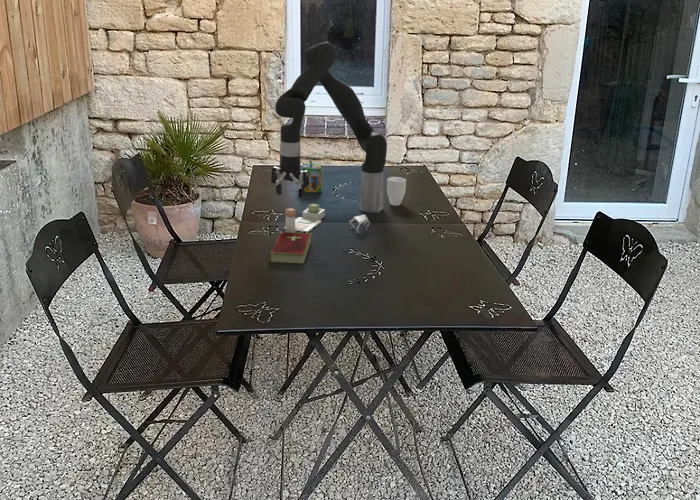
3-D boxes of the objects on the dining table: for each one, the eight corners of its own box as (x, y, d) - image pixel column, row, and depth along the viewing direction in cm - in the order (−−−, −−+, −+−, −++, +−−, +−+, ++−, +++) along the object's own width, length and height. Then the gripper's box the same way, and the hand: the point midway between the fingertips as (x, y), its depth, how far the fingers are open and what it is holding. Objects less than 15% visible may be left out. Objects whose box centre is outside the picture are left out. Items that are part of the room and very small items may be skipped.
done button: (320, 211, 275) (320, 204, 274) (316, 214, 271) (316, 207, 270) (311, 210, 276) (311, 203, 275) (306, 213, 272) (306, 206, 271)
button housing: (324, 216, 277) (324, 209, 275) (318, 221, 270) (318, 214, 269) (309, 213, 279) (309, 207, 278) (302, 218, 273) (302, 211, 271)
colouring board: (321, 222, 270) (321, 219, 269) (307, 233, 257) (307, 230, 257) (298, 218, 273) (298, 216, 272) (284, 229, 260) (284, 227, 260)
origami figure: (348, 225, 268) (348, 213, 266) (368, 225, 268) (369, 213, 266) (349, 235, 257) (349, 223, 255) (371, 235, 257) (371, 223, 255)
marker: (297, 234, 255) (297, 209, 252) (292, 237, 252) (292, 212, 248) (287, 233, 257) (287, 207, 253) (283, 236, 253) (283, 210, 250)
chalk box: (321, 193, 307) (321, 161, 301) (301, 192, 307) (301, 161, 301) (322, 187, 315) (322, 157, 310) (302, 187, 315) (303, 156, 310)
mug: (404, 207, 291) (406, 182, 287) (385, 206, 291) (387, 181, 287) (404, 199, 302) (406, 174, 298) (386, 198, 303) (387, 174, 298)
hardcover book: (269, 263, 230) (269, 251, 228) (279, 241, 249) (279, 231, 248) (304, 265, 229) (304, 253, 228) (311, 243, 249) (311, 232, 247)
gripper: (312, 153, 244) (311, 196, 250) (277, 149, 248) (277, 191, 254) (304, 157, 237) (303, 201, 243) (267, 153, 242) (268, 196, 248)
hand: (289, 196), depth 249 cm, fingers open, 8 cm apart
